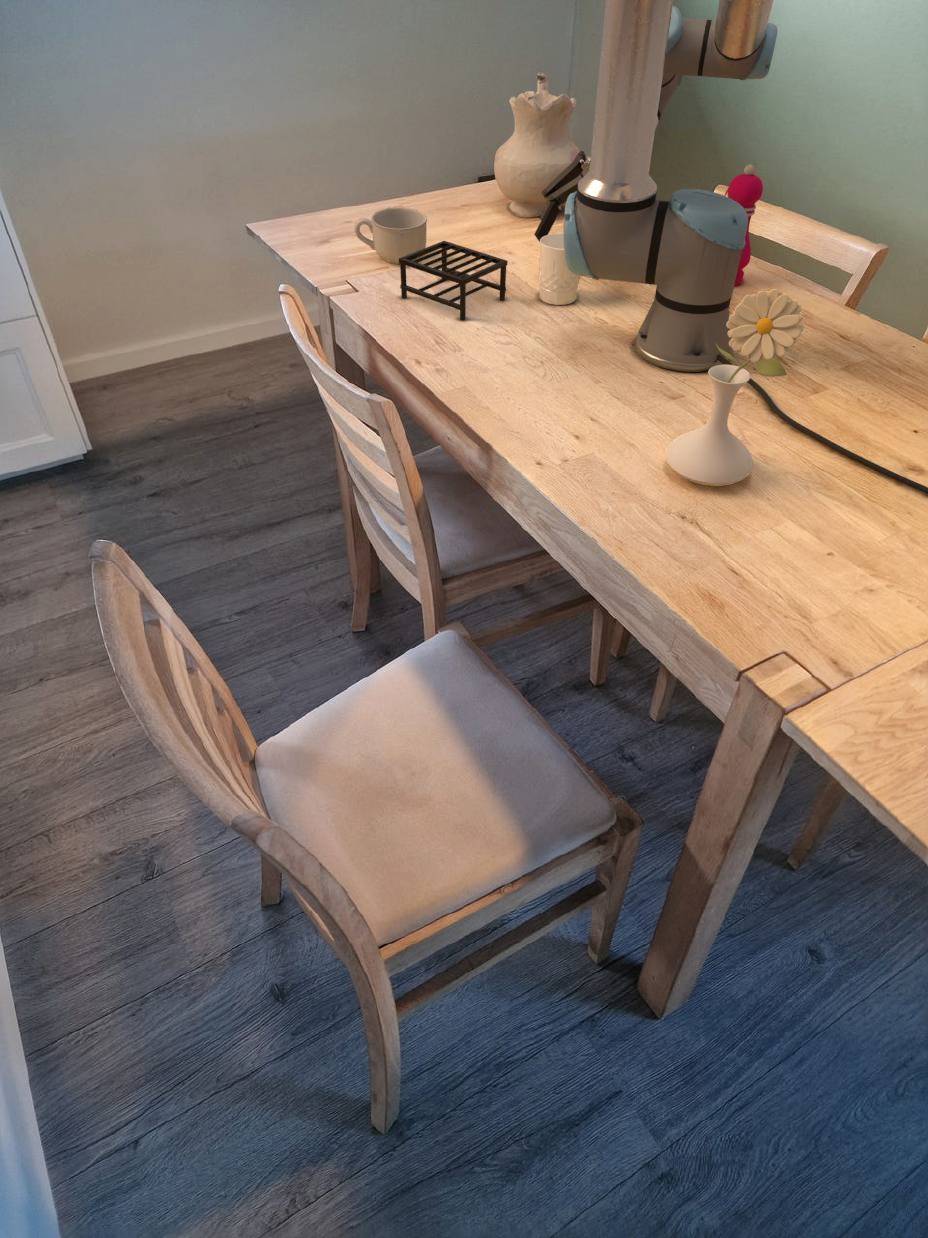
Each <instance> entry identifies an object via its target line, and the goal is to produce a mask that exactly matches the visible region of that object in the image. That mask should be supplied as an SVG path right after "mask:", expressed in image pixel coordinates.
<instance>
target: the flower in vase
mask: <svg viewBox="0 0 928 1238" xmlns="http://www.w3.org/2000/svg"><path fill="white" fill-rule="evenodd" d="M734 308H735V309H734V310H733V311H732V314H729V315H730V316H729V321H728V322H727V324H726V326H727V328H729V329H730V330H729V331H728V337H730V338H732V339H731V340H730V341H729V346H730V347H732V351H734V352H737V354H738V355H739V356H742V357H743V358H746V359H747V360H746V361H745V362H743V363H742V364H740V363H739V361H737V359H736V358H735V356H734V355H732V354H729V353H727V352H725V351H724V350H722V349H720V348H719V347H718V346H717V344H716V343H715V344H716V346H717V348H718V350H719V351H720V352H721V353H722V354H723V355H724V356H726V357H727V358H728V359H729V360H730V361H731V362H733V363H735V364H736V365H734V364H733V365H716V366H713V367H711V368H710V369H709V370H707V372H708V376H709V378H710V380H711V382H712V386H713V397H712V405H711V410H710V413H709V417H708V419H707V422H706V423H705V424H704V425H703V426H700V427H698V428H697V427H696V428H695V429H692V430H690V431H687V432H683V434H681V435H678V436H677V437H676V438H674V439H672V441H671V442H669V444H668V446H667V447H666V449H665V452H664V458H665V461H666V463H667V465H668V467H669V469H671V471H672V472H674V473H675V474H676V475H677V476H679V477H681V478H682V479H685V480H686V481H689V482H692V483H695V484H699V485H703V486H710V487H723V486H729V485H733V484H737V483H739V482H741V481H743V480H744V479H745V478H747V477H748V476H749V475H750V474H751V473H752V471H753V468H754V460H753V456H752V454H751V451H750V450H749V449H748V448H747V446H746V445H745V444H744V443H743V442H742V441H741V440H740V439H739V438H738V437H737V436H736V435H735V434H733V432H731V431H730V429H729V427H728V420H729V416H730V413H731V408H732V406H733V403H734V400H735V398H736V396H737V394H738V392H739V391H740V390H741V388H742V387H743V386H744V385H745V384H747V382H748V381H749V380H750V378H752V376H751V374H750V372H749V371H748V370H746V369H745V368H744V367H746V366H747V365H748V364H749V363H751V362H752V363H754V367H755V369H756V371H757V373H758V374H759V375H760V376H763V377H784V376H787V372H786V370H785V368H784V366H783V364H782V362H781V361H780V359H779V358H783V357H785V356H786V354H787V353H788V352H789V351H790V348H792V347H793V346H794V344H796V342H797V339H799V338H800V337H801V335H802V332H803V331H804V329H805V326H804V325H803V324H802V323H801V322H802V321H803V319H804V317H803V315H802V314H801V313H800V312H801V311H802V305H801V304H799V303H798V300H796V299H793V298H792V297H791V296H789V294H787V293H783V292H782V291H780V290H779V289H778V288H772V289H771V290H759V291H758V292H757V293H752V294H751V295H750V294H746V295H745V296H743V299H742V300H741V301H740V303H739V304H737V305H736V306H735V307H734Z"/></svg>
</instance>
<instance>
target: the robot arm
mask: <svg viewBox="0 0 928 1238" xmlns="http://www.w3.org/2000/svg"><path fill="white" fill-rule="evenodd" d="M773 4H774V0H718V4H717V5H718V6H717V10H716V11H717V12H716V19H700V18H683V17H682V13H681V11H680V9H679V8H678V7H677V6H675V5H674V0H605V3H604V14H603V23H602V24H603V25H602V33H601V34H602V35H601V46H600V55H599V66H598V76H597V77H598V78H597V86H596V88H597V89H596V99H595V108H594V120H593V129H592V130H593V131H592V140H591V151H590V156H589V155H586V153H585V151H584V150H580V152H579V153H578V155H577V156H576V158H575V159H574V161H573V162H572V163H571V164H570V165H569V166H568V167H567V168H566V169H565V170H564V171H562V172H561V173H560V174H559V175H558V176H557V177H556V178H555V179H554V180H553V181H552V182H551V183H550V184H549V185H548V186H547V187H545V188H544V189H543V190H542V195H543V196H544V198H545V200H546V201H547V204H546V206H545V208H544V209H543V211H542V213H541V215H539V219H540V220H541V221H540V222H539V224H538V226H537V227H536V230H535V232H534V234H533V235H534V236H535V238H536V239H537V241H538V242H539V243H540V239H541V238H542V237H543V236H546V235H549V234H550V232H551V230H552V227H553V226H554V223H555V222H556V219H557V218H558V216H559V214H560V212H561V211H560V209H559V208H558V207H559V206H560V207H561V206H562V205H564V204H565V207H564V222H563V225H562V227H563V228H562V229H563V232H562V233H563V240H564V254H565V260H566V263H567V266H568V268H569V270H570V271H571V272H572V273H573V274H575V275H578V276H580V277H585V278H591V279H593V280H596V281H598V280H605V281H614V282H615V281H616V282H617V281H618V282H625V283H635V284H645V285H655V287H656V288H655V293H654V299H653V302H652V304H651V305H650V308H649V310H648V311H647V314H646V315H645V317H644V320H643V322H642V323H641V325H640V328H639V329H638V332H637V335H636V340H635V345H634V346H635V351H636V353H637V354H638V356H640V357H641V359H644V360H645V361H646V362H648V363H650V364H652V365H654V366H657V367H660V368H663V369H667V370H671V371H675V372H676V371H678V372H684V373H685V372H689V373H696V372H706V371H707V372H708V371H709V369H710V368H711V367H713V366H716V365H734V364H733V363H731V362H730V361H729V360H730V359H728V358H727V357H726V356H724V355H723V354H722V353H721V352H720V351H719V350H718V348H717V346H718V347H719V348H720V349H722V350H724V351H725V352H727V353H729V354H731V353H732V351H733V349H732V347H730V346H729V341H730V340H731V339H732V338H730V337H728V331H729V330H730V329H729V328H727V326H726V324H727V322H728V321H729V316H730V315H731V314H730V306H731V302H732V298H733V292H734V288H735V286H734V284H735V279H736V275H737V270H738V265H739V261H740V256H741V252H742V249H743V248H744V246H745V235H746V230H747V224H748V216H747V213H746V211H745V209H744V208H743V207H742V206H741V205H740V204H739V203H737V202H736V201H734V200H732V199H730V198H728V196H726V195H723V194H720V193H718V192H715V191H710V190H705V189H700V188H690V189H688V188H681V189H677V190H675V191H674V192H673V193H672V195H671V196H670V197H669V200H660V199H659V200H658V199H656V198H657V193H658V185H657V183H656V182H655V181H654V180H653V178H652V177H651V175H650V167H651V161H652V153H653V148H654V147H653V146H654V140H655V134H656V133H655V132H656V129H657V127H658V125H659V123H660V121H661V119H662V117H663V115H664V113H665V111H666V109H667V107H668V106H669V104H670V102H671V100H672V98H673V96H674V94H675V92H676V91H677V90H678V87H680V86H681V84H682V80H683V76H686V77H687V76H689V77H703V78H705V77H706V78H718V79H730V80H731V79H732V80H739V81H747V80H763V79H765V78H766V77H767V76H768V74H769V72H770V70H771V69H770V68H771V64H772V61H773V57H774V51H775V47H776V42H777V37H778V26H777V25H776V24H774V23H772V22H769V19H770V15H771V12H772V7H773ZM580 174H581V175H580ZM579 175H580V176H579ZM557 198H558V199H557ZM715 343H716V344H717V346H716V344H715ZM731 355H732V354H731ZM746 384H748V385H749V386H751V387H752V388H753V389H754V390H755V391H756V392H757V393H758V394H759V395H760V396H761V397H762V398H763V399H764V401H765V402H766V403H767V405H768V407H769V408H770V409H771V410H772V412H773V413H774V414H776V416H777V417H778V418H780V419H781V420H782V421H783V422H785V423H787V424H788V425H790V426H791V427H793V428H794V429H796V430H798V431H799V432H801V433H803V434H805V435H806V436H809V437H810V438H812V439H814V440H815V441H817V442H819V443H820V444H823V445H824V446H826V447H828V448H830V449H832V450H833V451H835V452H837V453H839V454H841V455H842V456H844V457H847V458H849V459H851V460H852V461H854V462H856V463H858V464H861V465H862V466H864V467H866V468H869V469H871V470H872V471H874V472H877V473H879V474H881V475H884V476H886V477H887V478H890V479H892V480H894V481H895V482H896V481H897V482H898V483H901V484H904V485H905V486H908V487H910V488H912V489H914V490H917V491H919V492H921V493H924V494H926V495H928V486H926V485H924V484H922V483H919V482H917V481H915V480H912V479H910V478H907V477H905V476H903V475H900V474H898V473H896V472H894V471H892V470H890V469H888V468H886V467H883V466H881V465H879V464H877V463H876V462H873V461H871V460H868V459H866V458H864V457H862V456H861V455H859V454H857V453H854V452H853V451H850V450H848V449H847V448H845V447H843V446H841V445H839V444H837V443H835V442H834V441H832V440H831V439H829V438H826V437H824V436H823V435H821V434H819V433H817V432H815V431H813V430H812V429H810V428H808V427H807V426H805V425H803V424H801V423H799V422H797V421H796V420H794V419H793V418H791V417H790V416H789V415H787V414H786V413H785V412H783V411H782V410H781V409H780V408H779V407H778V406H777V405H776V404H775V402H774V401H773V400H772V398H771V397H770V395H769V394H768V392H767V391H766V390H764V388H763V387H761V385H759V384H758V382H756V381H755V380H754V379H753V378H752V377H750V380H749V381H748V382H746Z"/></svg>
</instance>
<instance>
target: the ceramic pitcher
mask: <svg viewBox="0 0 928 1238" xmlns="http://www.w3.org/2000/svg"><path fill="white" fill-rule="evenodd" d="M535 78H536V79H537V86H536V92H535V91H534V90H533V91H531V90H528V91H525V92H523V93H517V97H516V96H510V99H509V105H510V107H511V111H512V114H513V120H514V131H513V133H512V135H511V136H510V137H509V138H508V139H507V140H506V141H505V142H504V143H503V144H501V145H500V146H499V148H497V150H496V152H495V155H494V161H493V162H494V164H493V170H494V178H495V181H496V183H497V186H498V188H499V190H500V192H501V193H502V194H503V195H504V197H506V198H507V199H508V200H511V203H510V204H509V206H508V207H509V210H510V211H511V213H512V214H513V215H515V216H517V217H520V218H533V217H534V218H535V217H540V216H541V213H542V211H543V209H544V208H545V206H546V204H547V201H546V200H545V198H544V196H543V195H542V190H543V189H544V188H545V187H547V186H548V185H549V184H550V183H551V182H552V181H553V180H554V179H555V178H556V177H557V176H558V175H559V174H560V173H561V172H562V171H564V170H565V169H566V168H567V167H568V166H569V165H570V164H571V163H572V162H573V161H574V159H575V158H576V156H577V155H578V153H579V152H580V151H581V150H580V149H579V148H578V147H577V145H576V144H575V143H574V142H573V141H572V140H571V138H570V135H569V131H568V130H569V129H568V128H569V123H570V119H571V116H572V114H573V112H574V110H575V109H576V105H577V98H575V97H571V98H570V96H569V95H567V94H564V93H561V94H560V95H558V96H556V95H554V94H553V95H552V94H551V93H549V88H550V85H549V78H548V76H547V75H546V74H545V73H543V72H542V71H538V72H536V75H535ZM580 175H581V174H580ZM580 175H579V176H580ZM557 199H558V198H557ZM558 208H559V209H560V212H561V211H562V209H563V207H562V206H561V205H560V206H559V207H558Z"/></svg>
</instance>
